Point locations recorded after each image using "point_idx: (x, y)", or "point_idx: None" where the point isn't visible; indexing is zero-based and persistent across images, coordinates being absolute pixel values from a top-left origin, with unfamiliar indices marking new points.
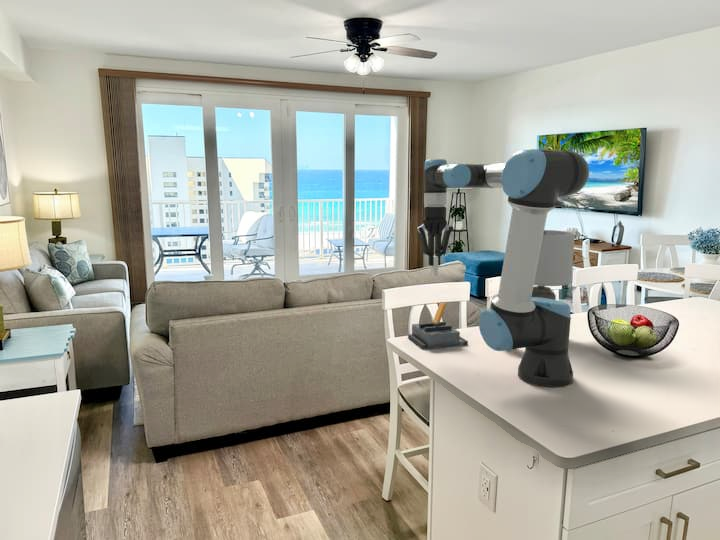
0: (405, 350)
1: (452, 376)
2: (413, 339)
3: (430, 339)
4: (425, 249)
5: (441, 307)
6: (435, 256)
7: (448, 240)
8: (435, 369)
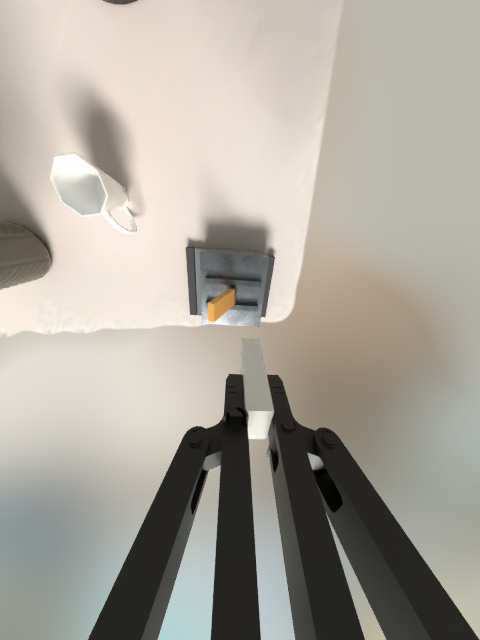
0: (301, 261)
1: (317, 51)
2: (268, 295)
3: (262, 255)
4: (363, 475)
5: (219, 305)
6: (258, 417)
7: (103, 611)
8: (319, 125)
